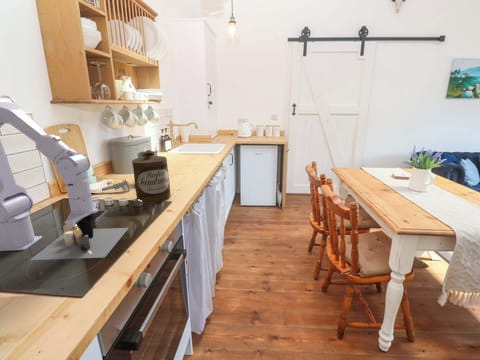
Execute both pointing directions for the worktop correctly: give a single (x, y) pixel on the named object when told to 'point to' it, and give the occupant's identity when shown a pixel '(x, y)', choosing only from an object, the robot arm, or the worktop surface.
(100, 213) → the tray
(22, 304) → the worktop surface
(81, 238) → the crank
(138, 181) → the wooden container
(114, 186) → the caliper
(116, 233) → the board
